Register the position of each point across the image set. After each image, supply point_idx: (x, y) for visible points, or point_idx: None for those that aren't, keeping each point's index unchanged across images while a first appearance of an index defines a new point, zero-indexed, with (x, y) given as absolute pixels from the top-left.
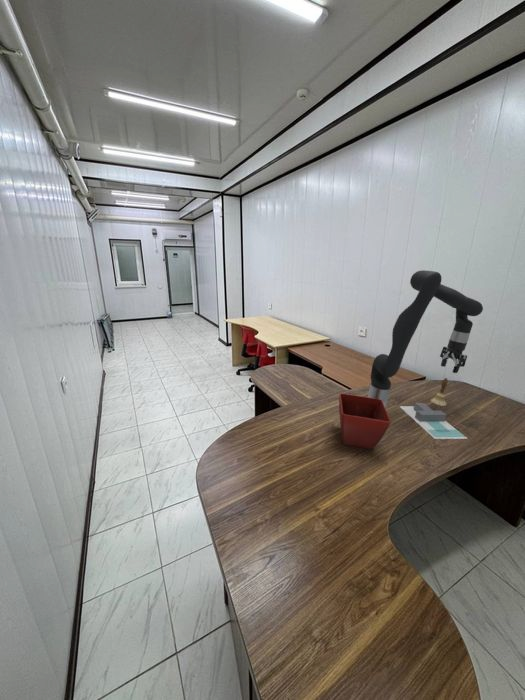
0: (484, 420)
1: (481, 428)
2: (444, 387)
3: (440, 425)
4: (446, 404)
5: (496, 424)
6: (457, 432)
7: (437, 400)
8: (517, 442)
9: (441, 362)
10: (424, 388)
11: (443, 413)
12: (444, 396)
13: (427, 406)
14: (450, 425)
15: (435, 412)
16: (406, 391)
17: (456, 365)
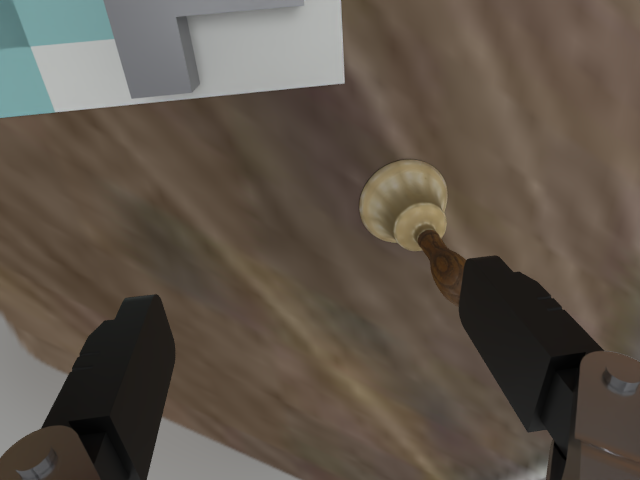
0: (227, 335)
1: (134, 276)
2: (430, 261)
3: (74, 18)
4: (376, 236)
5: (199, 364)
6: (13, 95)
7: (394, 189)
8: (47, 359)
9: (551, 299)
10: (581, 218)
11: (148, 85)
12: (396, 239)
13: (243, 5)
14: (100, 101)
15: (146, 17)
16: (571, 51)
17: (11, 457)
